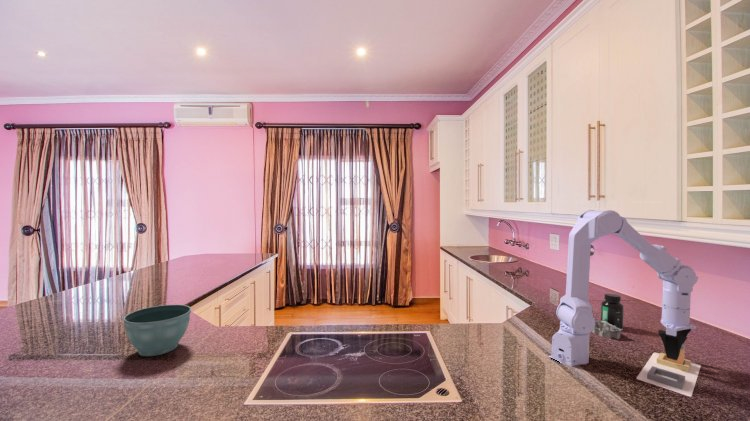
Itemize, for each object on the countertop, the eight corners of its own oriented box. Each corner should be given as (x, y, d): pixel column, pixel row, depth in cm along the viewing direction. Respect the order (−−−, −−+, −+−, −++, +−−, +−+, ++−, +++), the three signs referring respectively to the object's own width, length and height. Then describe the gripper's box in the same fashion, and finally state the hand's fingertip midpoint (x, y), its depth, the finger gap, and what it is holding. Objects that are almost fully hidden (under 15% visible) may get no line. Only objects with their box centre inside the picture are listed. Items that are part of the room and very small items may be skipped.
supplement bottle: (604, 329, 117) (605, 296, 117) (597, 322, 123) (598, 291, 123) (626, 331, 115) (627, 298, 115) (618, 325, 121) (619, 293, 121)
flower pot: (111, 354, 89) (111, 315, 89) (170, 334, 104) (171, 301, 104) (142, 369, 82) (143, 327, 82) (202, 345, 96) (202, 309, 96)
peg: (682, 368, 87) (683, 346, 87) (667, 364, 89) (668, 342, 89) (684, 365, 89) (684, 343, 89) (669, 361, 91) (670, 340, 91)
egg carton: (582, 327, 118) (582, 316, 118) (602, 328, 119) (602, 317, 119) (602, 339, 108) (603, 327, 108) (624, 340, 108) (625, 328, 108)
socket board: (691, 400, 73) (691, 391, 73) (636, 381, 81) (636, 373, 81) (700, 367, 89) (701, 360, 89) (653, 354, 97) (654, 348, 97)
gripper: (693, 315, 81) (691, 368, 81) (698, 305, 91) (697, 352, 91) (656, 308, 87) (654, 358, 87) (665, 299, 96) (663, 344, 96)
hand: (674, 354), depth 89 cm, fingers open, 7 cm apart
